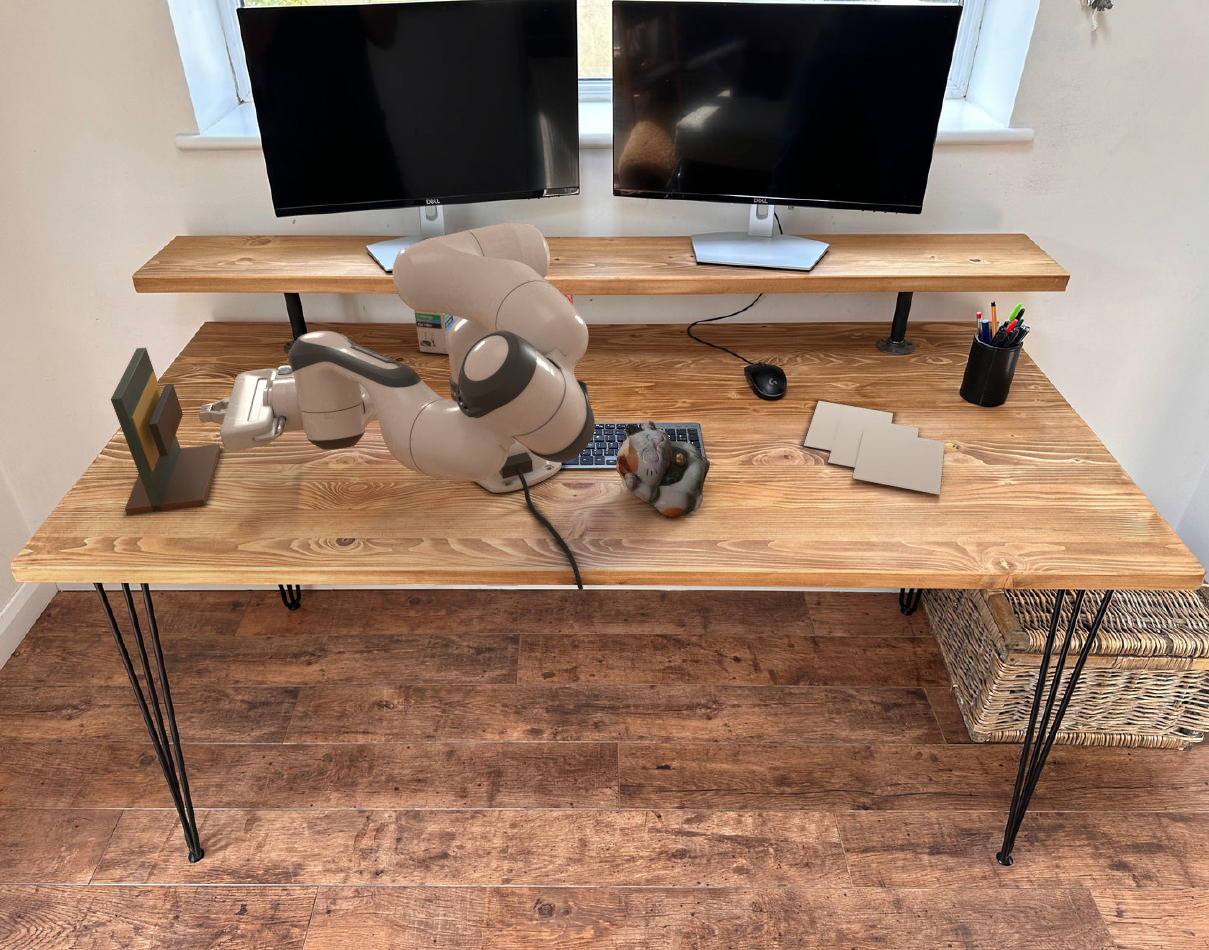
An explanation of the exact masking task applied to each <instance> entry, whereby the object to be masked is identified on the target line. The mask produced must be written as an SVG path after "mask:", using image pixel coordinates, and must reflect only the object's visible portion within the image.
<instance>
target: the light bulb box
mask: <svg viewBox="0 0 1209 950" xmlns="http://www.w3.org/2000/svg"><path fill="white" fill-rule="evenodd" d="M413 312H414V318H415V325H416V333H417V339H418V346H419V347H418V348H419V352H421V353H422V352H423V353H432V354H441V355H442V354H443V355H449V353H448V345H447V338H448V334H449V331H450V329H451V327H452V325H453V324H454V323H455V322H456V321H457V320H458V319H459V318H460V317H456V316H453V315H449V314H444V313H438V312H428V311H415V310H413Z"/></svg>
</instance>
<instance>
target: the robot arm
mask: <svg viewBox="0 0 1209 950" xmlns="http://www.w3.org/2000/svg"><path fill="white" fill-rule="evenodd" d="M550 264H551V253H550V247H549V244H548V241H547V239H546V238H545V236H544V235H543V233H542V232H541V231H540V230H539V228H537V227H536V226H535V225H533V224H532V223H528V222H527V223H526V222H501V223H496V224H491V225H487V226H482V227H476V228H472V229H466V230H463V231H458V232H452V233H449V234H443V235H439V236H438V235H437V236H434V237H429V238H426V239H422V240H421V241H418V242H416V243H413V244H411V245H409V246H406V247H404V248H403V249H400V250H399V251H398V252H397V255H396V256H395V259H394V261H393V266H392V281H393V286H394V288H395V289H394V290H395V291H396V293H397V295H398V297H399V298H400V299H401V301H402V302H403V303H404V304H405V305H406V306H408V307H409V308H410V309H412V310H413V311H414V310H415V311H428V312H438V313H444V314H449V315H453V316H456V317H460V318H459V319H458V320H457V321H456V322H455V323H454V324H453V325H452V327H451V329H450V331H449V334H448V338H447V345H448V353H449V354H448V359H449V368H450V374H449V376H448V377H449V378H448V380H449V382H448V384H449V385H448V386H449V388H448V389H449V391H450V397H451V399H452V400H451V399H446V398H444V397H443V396H441V395H439V394H438V393H437V392H435V390H433V389H431V388H430V387H429V386H428V385H427V383H425V382H424V380H422V378H421V376H420V375H419V374H418V373H417V372H416V371H415V369H414V368H412V367H410V366H408V365H407V364H404V363H403V362H400V361H398V360H396V359H393V358H391V357H388V356H386V355H384V354H382V353H379V352H378V351H377V352H376V351H374V350H372V349H369V348H367V347H364V346H362V345H360V344H358V343H356V342H354V341H353V340H352V339H350V338H349V337H348V336H346V335H344V334H343V333H340V332H336V331H330V330H317V331H316V330H315V331H311V332H308V333H304V334H301V335H300V336H299V337H297V339H296V340H295V341H294V343H293V344H292V346H291V347H290V349H289V351H288V353H287V359H288V363H289V364H287V365H280V366H278V367H277V369H276V368H262V369H261V368H260V369H254V370H247V371H244V372H240V373H239V374H237V375H236V377H235V380H234V382H233V383H234V384H233V387H232V390H231V393H230V396H229V397H224V398H221V399H220V400H217V401H214V402H212V403H205V404H204V403H203V404H202V405H201V407H200V410H199V414H198V419H199V421H200V422H201V423H205V424H206V423H214V424H218V425H221V427H220V431H219V435H220V439H221V442H222V446H223V448H224V449H225V450H226V451H230V452H236V451H242V450H243V451H244V450H249V449H254V448H259V447H263V446H266V445H269V444H271V443H272V442H273V441H275V440H276V439H277V438H279V437H281V436H282V435H283V434H284V433H287V432H288V433H289V432H290V433H291V432H298V431H304V434H305V436H306V439H307V441H309V443H311V444H312V445H314V446H315V447H317V448H319V449H321V450H323V451H333V450H341V449H342V450H343V449H348V448H353V447H355V446H356V445H357V444H358V443H359V441H360V440H361V439H362V438H363V436H364V435H365V433H366V428H367V427H368V425H369V424H371V423H372V422H376V421H378V424H379V428H380V431H381V435H382V439H383V441H384V444H385V446H386V448H387V451H388V453H390V455H391V456H392V457H393V458H394V460H396V462H398V463H399V464H400V465H402V466H403V467H405V468H406V469H409V470H410V471H412V472H415V473H417V474H421V475H425V476H429V477H432V478H437V479H442V480H446V481H455V482H475V483H477V484H478V485H479V486H481V487H483V488H484V489H485V490H487V491H489V492H491V493H507V492H514V491H519V490H521V489H523V493H524V498H525V502H526V505H527V507H528V508H529V510H530V511H531V513H532V514H533V515H534V516H535V517H536V519H537V520H539V522H541V523H542V524H543V525H544V526H545V527H546V529H547V530H548V531H549V532H550V534H551V535H552V536H553V537H554V538H555V540H556V541H557V543H558V544H559V546H560V547H561V549H562V550H563V552H564V553H565V555H566V557H567V559H568V561H569V563H570V566H571V567H572V570H573V574H574V578H575V582H576V586H577V589H578V590H579V591H583V590H584V584H583V582H582V577H581V573H580V570H579V567H578V564H577V562H576V560H575V557H574V556H573V554H572V551H571V550H570V548H569V547H568V545H567V543H566V542H565V540H564V539H563V538H562V537H561V535H560V534H559V533H558V531H557V530H556V529H555V528H554V527H553V525H552V524H551V523H550V522H549V521H548V520H547V518H545V517H544V516H543V515H542V514H541V513H539V511H538V510H537V509H536V508H535V506H534V504H533V502H532V500H531V495H530V490H529V487H531V486H534V485H536V484H538V483H541V482H543V481H545V480H547V479H549V478H551V477H553V476H554V475H556V474H557V473H558V472H560V470H561V469H562V467H563V466H562V464H563V463H566V462H569V461H571V460H574V459H575V458H577V457H578V456H579V455H581V454H582V453H583V452H584V451H585V450H586V449H587V447H588V446H589V445H590V443H591V441H592V439H593V436H594V434H595V427H596V424H595V414H594V412H593V408H592V405H591V403H590V399H589V391H588V386H587V384H586V383H585V382H584V381H583V380H579V379H577V378H576V374H575V368H576V367H577V364H578V363H579V362H580V361H581V360H582V359H583V357H584V356H585V354H586V352H587V349H588V347H589V339H590V337H589V330H588V326H587V324H586V322H585V319H584V318H583V317H582V315H581V314H580V312H579V311H578V310H577V308H576V307H575V305H574V304H573V305H572V303H571V302H570V301H569V300H568V299H567V298H566V297H565V296H564V295H563V294H562V293H561V292H560V291H559V290H558V289H557V288H555V287H554V286H553V285H552V284H550V283H549V280H547V279H546V277H547V274H548V271H549V268H550Z"/></svg>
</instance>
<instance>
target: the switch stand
mask: <svg viewBox="0 0 1209 950" xmlns="http://www.w3.org/2000/svg"><path fill="white" fill-rule="evenodd" d="M161 394H162V390H161V387H160V384H159V381H158V379H157V376H156V373H155V370H154V366H153V363H152V361H151V357H150V354H149V352H148V349H147V347H137V348H136V349H135V351H134V352H133V354H132V357H131V359H130V360H129V362H128V365H127V366H126V368H125V370H124V372H123V374H122V376H121V378H120V380H119V382H118V384H117V386H116V388H115V390H114V392H113V393H112V396H111V398H110V402H111V404H112V406H113V409H114V412H115V415H116V418H117V420H118V423H119V425H120V428H121V431H122V433H123V436H124V439H125V441H126V443H127V446H128V449H129V451H130V454H131V457H132V460H133V462H134V464H135V467H136V470H137V472H138V475H137V478H136V480H135V482H134V485H133V488H132V490H131V492H130V495H129V498H128V500H127V503H126V506H125V508H124V511H125V513H126V515H127V516H130V515H137V514H139V515H140V514H145V513H146V514H147V513H155V512H163V511H172V510H178V509H188V508H194V507H195V508H196V507H204V506H206V503H207V500H208V496H209V492H210V489H211V487H212V483H213V479H214V476H215V472H216V467H217V464H218V461H219V458H220V454H221V450H222V449H221V446H220V444H219V443H217V444H208V445H199V446H198V445H197V446H191V447H181V445H180V442H179V440H178V437H177V434H176V435H175V438H174V440H173V443H172V446H171V449H170V451H169V454H168V456H160V455H159V452H158V449H157V446H156V444H155V441H154V438H153V435H152V432H151V430H150V427H149V423H150V420H151V418H152V415H153V413H154V411H155V408H156V406H157V403H158V401H159V399H160V396H161Z"/></svg>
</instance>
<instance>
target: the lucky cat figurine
mask: <svg viewBox="0 0 1209 950" xmlns="http://www.w3.org/2000/svg"><path fill="white" fill-rule="evenodd" d="M624 429H625V432H624V437H623V440H622V441H623V442H622V445H621V446H620V447H619V449H618V451H617V452H616V455H617V457H616V466H615V467H616V472H617V474H618V476H619V477H620V479H621V483H622V486H623V487H624V488H625V489H627V490H628V491H629V493H630V494H632V495H633V496H635V497H637V498H638V499H640V500H642V501H644V502H645V503H648V504H649V505H652V506H653V507H654V508H656V509H657V511H659V512H660V513H661V514H662V515H663V516H666V517H669V518H677V517H680V516H685V515H689V514H690V513H692V512H694V513H696V512H697V511H698V510H699V509H700V507H701V505H702V502H703V500H704V499H703V498H704V492H703V489H704V484H705V482H706V478H707V476H708V473H709V470H710V465H711V462H710V460H709V459H708V458H707V457H705V456H703V455H702V453H701V452H700V450H699V449H698V447H696V446H695V445H694V444H692V443H689V442H687V441H673V440H671V439H670V436H669V434H668V433H667V432H666V431H665V430H663V429H661V428H658V427H656V424H655V422H654V421H653V420H651V419H646V420H645V422H644V423H643V424H642V425H641V427H639V426H636V425H634V424H632V423H631V424H630V423H629V424H626V426H625V427H624Z"/></svg>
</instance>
